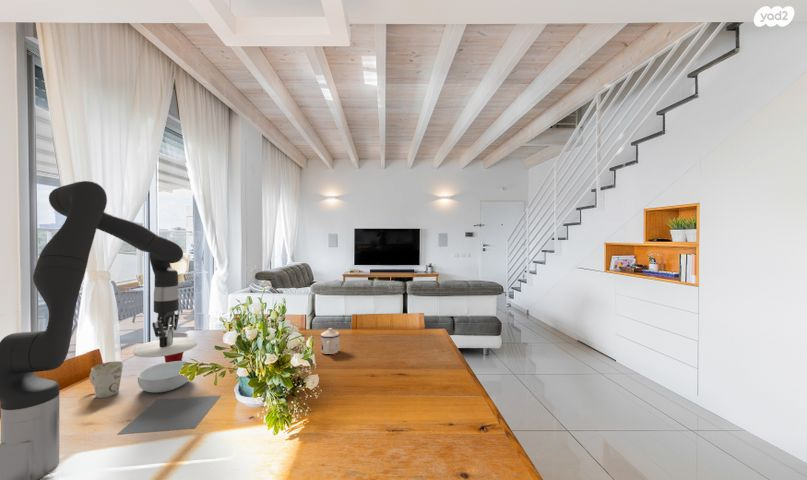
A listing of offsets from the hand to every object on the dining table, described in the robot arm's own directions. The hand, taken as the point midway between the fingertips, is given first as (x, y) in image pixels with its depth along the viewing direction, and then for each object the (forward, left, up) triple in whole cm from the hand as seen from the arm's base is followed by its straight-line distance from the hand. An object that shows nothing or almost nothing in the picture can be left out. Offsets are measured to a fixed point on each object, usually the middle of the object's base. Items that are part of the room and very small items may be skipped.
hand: (166, 345), depth 122 cm
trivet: (-20, -12, -16) cm, 28 cm away
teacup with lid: (+29, -57, -16) cm, 66 cm away
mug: (-1, +20, -16) cm, 26 cm away
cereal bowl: (0, 0, -16) cm, 16 cm away
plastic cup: (+27, +10, -16) cm, 33 cm away
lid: (0, 0, -1) cm, 1 cm away
